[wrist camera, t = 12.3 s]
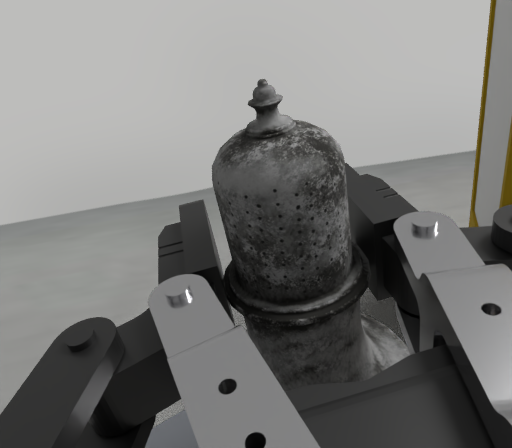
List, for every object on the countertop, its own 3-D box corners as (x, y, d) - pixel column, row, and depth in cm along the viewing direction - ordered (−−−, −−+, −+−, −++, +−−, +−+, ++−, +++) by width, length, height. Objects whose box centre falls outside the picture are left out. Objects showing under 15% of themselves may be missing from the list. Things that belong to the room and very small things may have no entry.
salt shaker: (311, 351, 18) (259, 45, 12) (454, 432, 14) (485, 36, 8) (202, 460, 15) (56, 118, 9) (348, 607, 11) (267, 165, 5)
